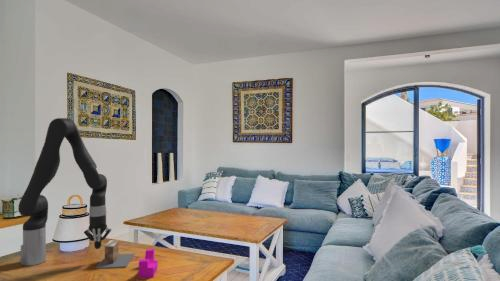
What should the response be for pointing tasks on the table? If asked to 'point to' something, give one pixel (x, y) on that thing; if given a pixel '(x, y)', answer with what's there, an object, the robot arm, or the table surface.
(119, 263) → the mat
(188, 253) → the table surface
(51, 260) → the table surface
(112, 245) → the slab
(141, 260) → the toy block
